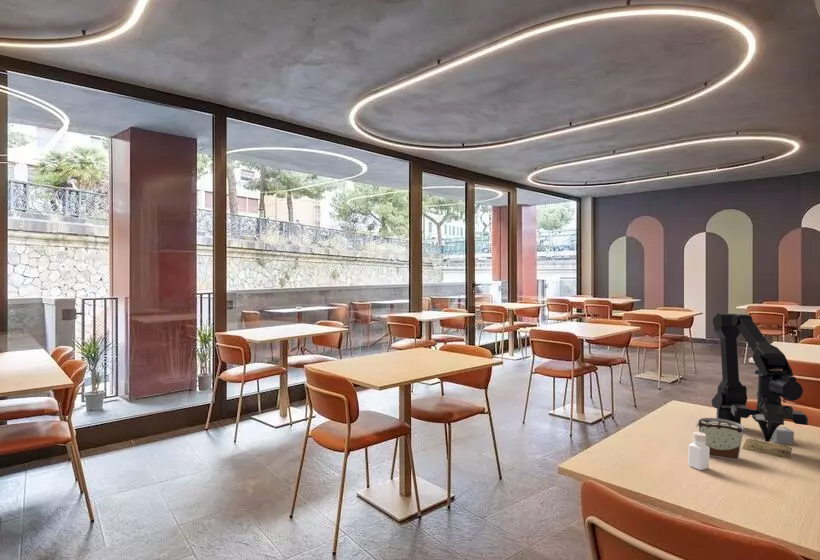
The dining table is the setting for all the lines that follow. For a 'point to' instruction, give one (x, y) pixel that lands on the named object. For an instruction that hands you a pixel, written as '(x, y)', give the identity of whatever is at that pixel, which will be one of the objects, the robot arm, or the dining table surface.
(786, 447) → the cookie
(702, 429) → the food container
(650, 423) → the dining table surface
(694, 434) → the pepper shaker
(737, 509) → the dining table surface
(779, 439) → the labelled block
